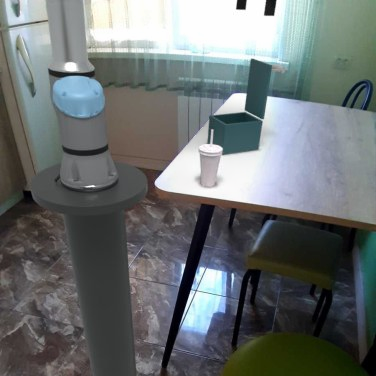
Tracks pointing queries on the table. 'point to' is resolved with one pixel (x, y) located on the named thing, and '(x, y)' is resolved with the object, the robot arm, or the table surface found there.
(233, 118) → the teal open box
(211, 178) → the smoothie
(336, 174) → the table surface
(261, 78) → the lid
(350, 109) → the table surface
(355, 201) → the table surface
